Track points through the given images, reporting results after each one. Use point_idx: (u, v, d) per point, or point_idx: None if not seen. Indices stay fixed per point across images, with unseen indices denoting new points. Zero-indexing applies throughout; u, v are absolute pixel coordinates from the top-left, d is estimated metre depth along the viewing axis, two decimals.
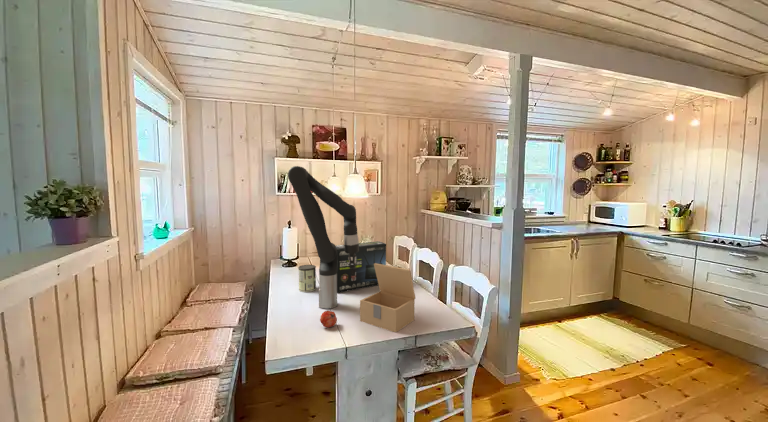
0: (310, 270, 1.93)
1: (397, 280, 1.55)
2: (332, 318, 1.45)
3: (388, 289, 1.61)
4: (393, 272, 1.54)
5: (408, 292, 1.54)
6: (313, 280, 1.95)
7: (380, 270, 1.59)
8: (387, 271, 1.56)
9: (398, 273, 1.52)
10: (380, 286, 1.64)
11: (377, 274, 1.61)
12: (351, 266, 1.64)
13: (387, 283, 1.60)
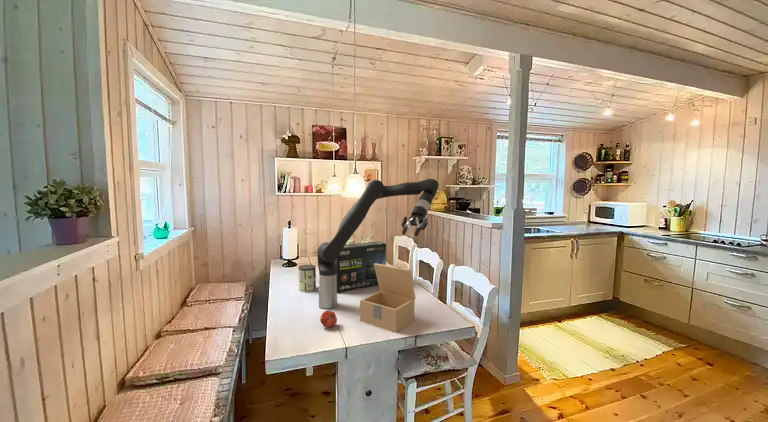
0: (310, 270, 1.93)
1: (397, 280, 1.55)
2: (332, 318, 1.45)
3: (388, 289, 1.61)
4: (393, 272, 1.54)
5: (408, 292, 1.54)
6: (313, 280, 1.95)
7: (380, 270, 1.59)
8: (387, 271, 1.56)
9: (398, 273, 1.52)
10: (380, 286, 1.64)
11: (377, 274, 1.61)
12: (423, 226, 1.65)
13: (387, 283, 1.60)
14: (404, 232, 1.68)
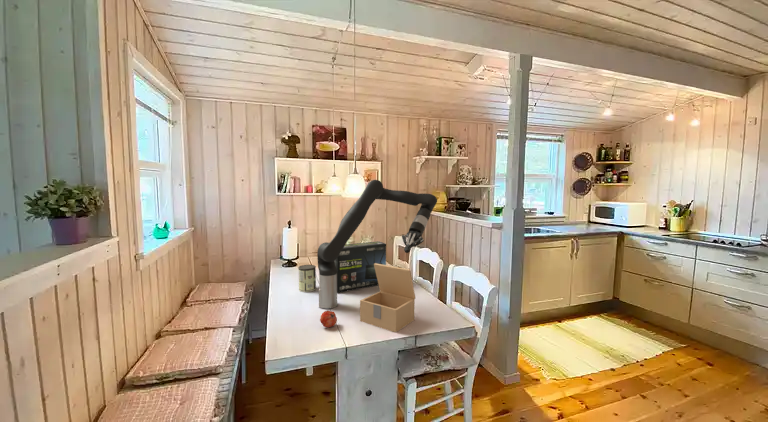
0: (310, 270, 1.93)
1: (397, 280, 1.55)
2: (332, 318, 1.45)
3: (388, 289, 1.61)
4: (393, 272, 1.54)
5: (408, 292, 1.54)
6: (313, 280, 1.95)
7: (380, 270, 1.59)
8: (387, 271, 1.56)
9: (398, 273, 1.52)
10: (380, 286, 1.64)
11: (377, 274, 1.61)
12: None
13: (387, 283, 1.60)
14: None
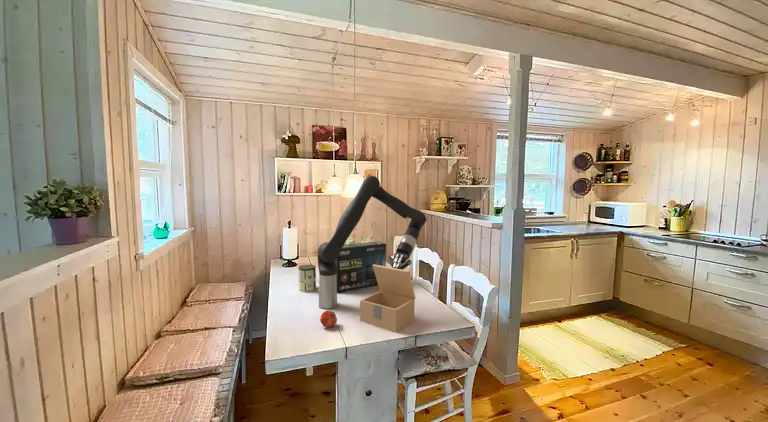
0: (310, 270, 1.93)
1: (396, 281, 1.54)
2: (332, 318, 1.45)
3: (387, 289, 1.61)
4: (392, 273, 1.53)
5: (408, 292, 1.54)
6: (313, 280, 1.95)
7: (379, 271, 1.58)
8: (386, 272, 1.55)
9: (397, 274, 1.52)
10: (380, 286, 1.63)
11: (376, 275, 1.60)
12: None
13: (387, 284, 1.59)
14: None
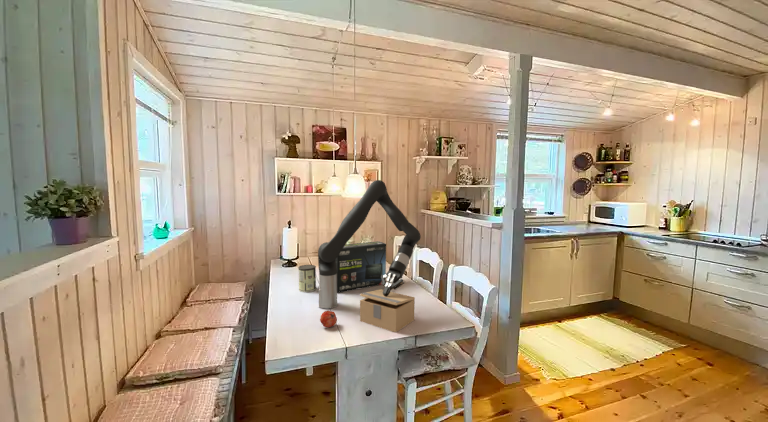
0: (310, 270, 1.93)
1: None
2: (332, 318, 1.45)
3: None
4: None
5: None
6: (313, 280, 1.95)
7: None
8: None
9: None
10: None
11: None
12: (394, 285, 1.52)
13: None
14: None
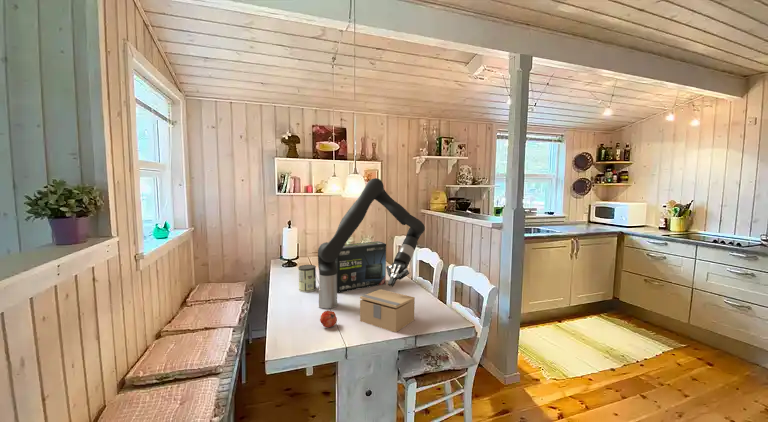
0: (310, 270, 1.93)
1: None
2: (332, 318, 1.45)
3: None
4: None
5: None
6: (313, 280, 1.95)
7: None
8: None
9: None
10: None
11: None
12: None
13: None
14: None
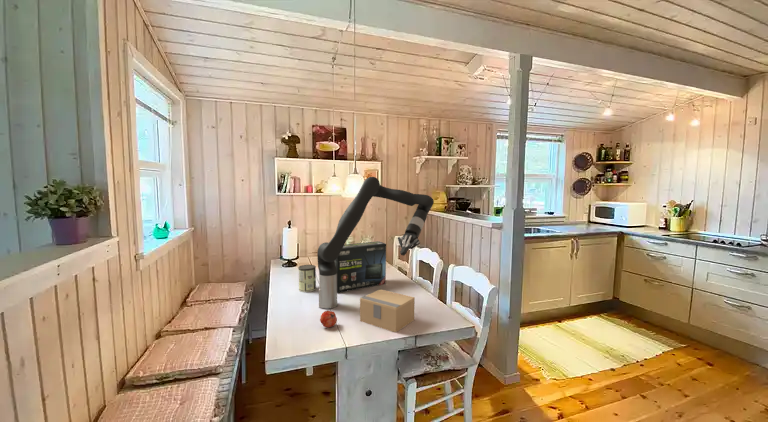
0: (310, 270, 1.93)
1: None
2: (332, 318, 1.45)
3: None
4: None
5: None
6: (313, 280, 1.95)
7: None
8: None
9: None
10: None
11: None
12: None
13: None
14: None
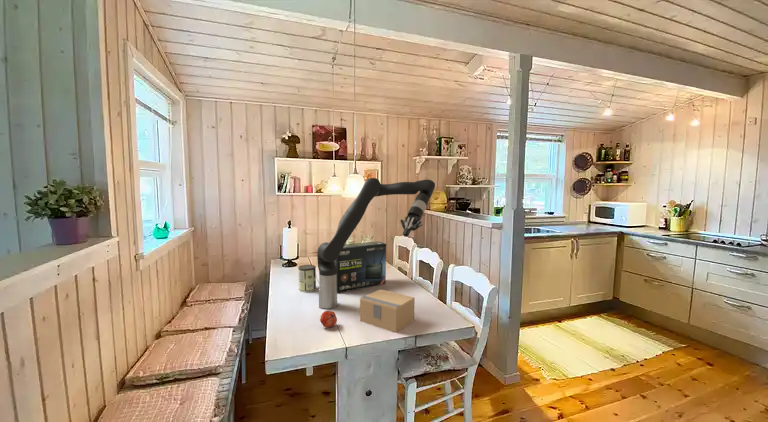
0: (310, 270, 1.93)
1: None
2: (332, 318, 1.45)
3: None
4: None
5: None
6: (313, 280, 1.95)
7: None
8: None
9: None
10: None
11: None
12: (413, 227, 1.67)
13: None
14: None
